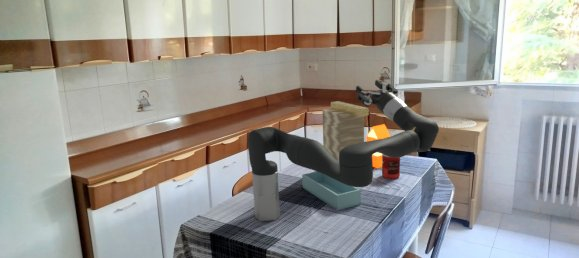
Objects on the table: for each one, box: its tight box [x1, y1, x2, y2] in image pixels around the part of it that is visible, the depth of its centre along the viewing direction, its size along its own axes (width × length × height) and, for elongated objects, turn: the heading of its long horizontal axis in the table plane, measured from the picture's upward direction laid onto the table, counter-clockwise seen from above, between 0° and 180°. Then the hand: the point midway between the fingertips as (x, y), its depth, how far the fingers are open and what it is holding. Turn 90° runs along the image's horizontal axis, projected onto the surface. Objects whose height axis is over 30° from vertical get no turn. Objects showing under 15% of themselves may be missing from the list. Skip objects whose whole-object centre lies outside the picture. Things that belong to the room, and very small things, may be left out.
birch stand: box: [322, 108, 365, 161], centre depth 182 cm, size 14×12×32 cm
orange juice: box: [366, 123, 391, 169], centre depth 204 cm, size 8×9×20 cm
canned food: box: [381, 154, 401, 180], centre depth 187 cm, size 8×8×11 cm
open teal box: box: [301, 171, 362, 211], centre depth 169 cm, size 28×11×6 cm, turn 26°
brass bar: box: [330, 100, 370, 117], centre depth 174 cm, size 22×4×3 cm, turn 26°
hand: (366, 85), depth 156 cm, fingers open, 8 cm apart
